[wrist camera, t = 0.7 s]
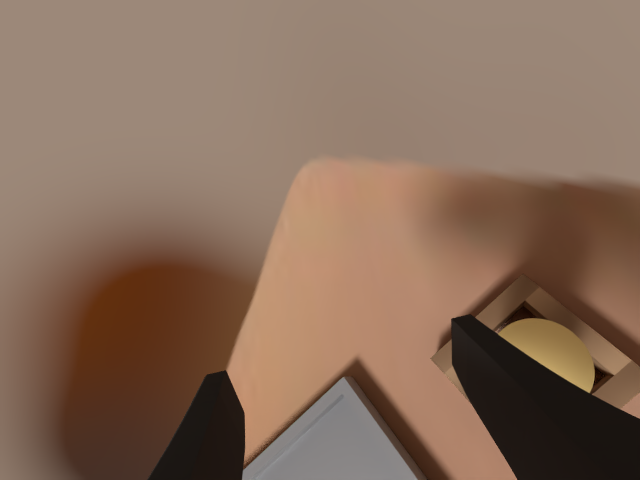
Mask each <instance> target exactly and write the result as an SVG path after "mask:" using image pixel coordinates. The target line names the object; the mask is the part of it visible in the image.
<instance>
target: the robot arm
mask: <svg viewBox="0 0 640 480" xmlns="http://www.w3.org/2000/svg"><path fill="white" fill-rule="evenodd" d="M451 325H452V366H453V368H454V370H455V372H456V375H457V377H458V379H459V381H460V383H461V385H462V387H463V389H464V392H465V394H466V396H467V397H468V399H469V401H470V402H471V404H472V406H473V407H474V409H475V410H476V412H477V414H478V415H479V417H480V419H481V420H482V422H483V424H484V425H485V427H486V428H487V430H488V432H489V433H490V435H491V436H492V438H493V440H494V441H495V443H496V445H497V446H498V448H499V449H500V451H501V453H502V454H503V456H504V457H505V459H506V461H507V462H508V464H509V466H510V467H511V469H512V471H513V473H514V474H515V476H516V478H517V480H640V419H639V418H637V417H634V416H632V415H630V414H628V413H626V412H624V411H622V410H620V409H618V408H616V407H614V406H613V405H611V404H609V403H607V402H605V401H603V400H601V399H600V398H598V397H596V396H594V395H592V394H590V393H588V392H587V391H585V390H583V389H581V388H579V387H578V386H576V385H574V384H573V383H571V382H569V381H568V380H566V379H564V378H563V377H561V376H559V375H558V374H556V373H555V372H553V371H551V370H550V369H548V368H547V367H545V366H544V365H542V364H540V363H539V362H537V361H536V360H534V359H533V358H531V357H530V356H528V355H527V354H525V353H524V352H522V351H521V350H520V349H518V348H517V347H515V346H514V345H512V344H511V343H509V342H508V341H507V340H505V339H504V338H502V337H501V336H500V335H498V334H497V333H496V332H494V331H493V330H491V329H490V328H489V327H487V326H486V325H484V324H483V323H482V322H480V321H479V320H478V319H476V318H475V317H473V316H472V315H465V316H461V317H457V318H452V319H451ZM244 453H245V415H244V411H243V408H242V406H241V404H240V401H239V399H238V397H237V395H236V392H235V390H234V388H233V385H232V383H231V381H230V378H229V376H228V374H227V372H226V371H221V372H217V373H213V374H208V375H206V377H205V378H204V380H203V382H202V384H201V386H200V388H199V390H198V391H197V393H196V395H195V397H194V399H193V401H192V403H191V405H190V407H189V409H188V411H187V412H186V414H185V416H184V418H183V420H182V422H181V424H180V425H179V427H178V429H177V431H176V432H175V434H174V436H173V438H172V440H171V441H170V443H169V445H168V447H167V448H166V450H165V452H164V454H163V455H162V457H161V458H160V460H159V462H158V463H157V465H156V466H155V468H154V470H153V471H152V473H151V475H150V476H149V478H148V480H242V475H243V465H244Z"/></svg>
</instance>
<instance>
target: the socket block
mask: <svg viewBox="0 0 640 480" xmlns="http://www.w3.org/2000/svg"><path fill="white" fill-rule="evenodd" d="M522 306H524V307H525V308H526V309H528V310H529V311H530V312H531V313H532V314H533V315H535V316H536V317H537V318H538V319H545V320H549V321H552V322H556V323H558V324H560V325H562V326H564V327H566V328H567V329H569V330H570V331H572V332H573V333H574V334H575V335H576V336H577V337H578V338H579V339H580V340H581V341H582V342H583V343H584V345H585V346H586V348H587V349H588V351H589V353H590V355H591V357H592V360H593V364H594V366H595V367H596V368H597V369H598V370H599V371H600V372H602V373H603V374H604V375H605V376H604V377H603V378H602V379H601V380H600V381H599V382H598V383H596V384H595V385H594V386H593V387H592V389H591V391H590V394H592V395H594V396H596V397H598V398H600V399H601V400H603V401H605V402H607V403H609V404H611V405H613V406H614V407H616V408H618V409H621V408H622V407H623V406H624V405H625V404H627V403H628V402H629V401H630V400H631V399H632V398H634V397H635V396H636V395H637V394H638V393H640V366H638V365H637V364H636V363H635V362H633V361H632V360H631V359H630V358H628V357H627V356H626V355H625V354H623V353H622V352H621V351H620V350H618V349H617V348H616V347H615V346H613V345H612V344H611V343H610V342H608V341H607V340H606V339H605V338H603V337H602V336H601V335H600V334H598V333H597V332H596V331H595V330H593V329H592V328H591V327H589V326H588V325H587V324H586V323H584V322H583V321H582V320H581V319H579V318H578V317H577V316H576V315H574V314H573V313H572V312H571V311H569V310H568V309H567V308H566V307H564V306H563V305H562V304H561V303H559V302H558V301H557V300H556V299H554V298H553V297H552V296H551V295H549V294H548V293H547V292H546V291H544V290H543V289H542V288H541V287H539V286H538V285H537V284H536V283H534V282H533V281H532V280H531V279H529V278H528V277H527V276H525V275H524V274H522V275H521V276H520V277H519V278H518V279H517V280H515V281H514V282H513V283H512V284H511V285H510V286H509V287H508V288H507V289H506V290H505V291H503V292H502V293H501V294H500V295H499V296H498V297H497V298H496V299H495V300H494V301H493V302H491V303H490V304H489V305H488V306H487V307H486V308H485V309H484V310H483V311H482V312H481V313H479V314H478V315H477V316H476V317H475V318H476V319H478V320H479V321H480V322H482V323H483V324H484V325H486V326H487V327H489V328H490V329H491V330H493V331H494V332H495V331H496V330H497V329H498V328H499V327H500V326H502V325H503V324H504V323H505V322H506V321H507V320H508V319H509V318H510V317H511V316H513V315H514V314H515V313H516V312H517V311H518V310H519V309H520V308H521V307H522ZM430 359H431V360H432V361H433V362H434V363H435V364H436V365H437V366H438V368H439V369H440V370H441V371H442V372H443V373H444V374H445V375H446V376H447V378H448V379H449V380H450V381H451V382H452V383H453V384H454V385H455V386H456V388H457V389H458V390H459V391H460V392H461V393H462V394H463V395H464V396H465V398H466V399H467V400H468V401H469V399H468V397H467V396H466V394H465V392H464V389H463V387H462V385H461V383H460V381H459V379H458V377H457V375H456V372H455V370H454V368H453V366H452V339H451V340H450V341H449V342H448V343H447V344H446V345H444V346H443V347H442V348H441V349H440V350H439V351H438V352H437V353H436V354H435V355H434V356H432V357H431V358H430ZM469 402H470V401H469ZM470 403H471V402H470Z"/></svg>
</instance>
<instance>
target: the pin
mask: <svg viewBox="0 0 640 480" xmlns="http://www.w3.org/2000/svg"><path fill="white" fill-rule="evenodd" d="M498 335H500V336H501V337H502V338H504V339H505V340H507V341H508V342H509V343H511V344H512V345H514V346H515V347H517V348H518V349H520V350H521V351H522V352H524V353H525V354H527V355H528V356H530V357H531V358H533V359H534V360H536V361H537V362H539V363H540V364H542V365H544V366H545V367H547V368H548V369H550V370H551V371H553V372H555V373H556V374H558V375H559V376H561V377H563V378H564V379H566V380H568V381H569V382H571V383H573V384H574V385H576V386H578V387H579V388H581V389H583V390H585V391H587V392H588V393H590V391H591V389H592V387H593V383H594V377H595V370H594V364H593V360H592V357H591V355H590V353H589V351H588V349H587V348H586V346H585V345H584V343H583V342H582V341H581V340H580V339H579V338H578V337H577V336H576V335H575V334H574V333H573V332H572V331H570V330H569V329H567V328H566V327H564V326H562V325H560V324H558V323H556V322H552V321H549V320H545V319H538V318H529V319H522V320H518V321H516V322H513V323H511V324H509V325H508V326H506V327H505V328H504V329H502V330H501V331H500V332H499V333H498Z"/></svg>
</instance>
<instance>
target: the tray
mask: <svg viewBox="0 0 640 480" xmlns="http://www.w3.org/2000/svg"><path fill="white" fill-rule="evenodd" d="M242 480H428V479H427V478H426V477H425V475H424V474H423V472H422V471H421V470H420V468H419V467H418V466H417V464H416V463H415V462H414V460H413V459H412V457H411V456H410V455H409V453H408V452H407V451H406V449H405V448H404V447H403V445H402V444H401V443H400V441H399V440H398V438H397V437H396V436H395V434H394V433H393V432H392V430H391V429H390V428H389V426H388V425H387V423H386V422H385V421H384V419H383V418H382V417H381V415H380V414H379V413H378V411H377V410H376V409H375V407H374V406H373V404H372V403H371V402H370V400H369V399H368V398H367V396H366V395H365V394H364V392H363V391H362V390H361V388H360V387H359V385H358V384H357V383H356V381H355V380H354V379H353V377H342V378H341V379H340V380H339V381H338V382H337V383H336V384H335V385H334V386H333V387H332V388H331V389H330V390H329V391H328V392H326V393H325V394H324V395H323V396H322V397H321V398H320V399H319V400H318V401H317V402H316V403H315V404H314V405H313V406H311V407H310V408H309V409H308V410H307V411H306V412H305V413H304V414H303V415H302V416H301V417H300V418H299V419H298V420H296V421H295V422H294V423H293V424H292V425H291V426H290V427H289V428H288V429H287V430H286V431H285V432H284V433H283V434H282V435H280V436H279V437H278V438H277V439H276V440H275V441H274V442H273V443H272V444H271V445H270V446H269V447H268V448H267V449H265V450H264V451H263V452H262V453H261V454H260V455H259V456H258V457H257V458H256V459H255V460H254V461H253V462H252V463H250V464H249V465H248V466H247V467H246V468H245V469H244V470H243V475H242Z"/></svg>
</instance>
